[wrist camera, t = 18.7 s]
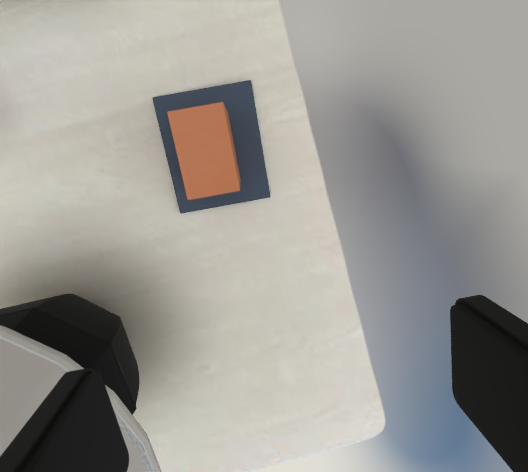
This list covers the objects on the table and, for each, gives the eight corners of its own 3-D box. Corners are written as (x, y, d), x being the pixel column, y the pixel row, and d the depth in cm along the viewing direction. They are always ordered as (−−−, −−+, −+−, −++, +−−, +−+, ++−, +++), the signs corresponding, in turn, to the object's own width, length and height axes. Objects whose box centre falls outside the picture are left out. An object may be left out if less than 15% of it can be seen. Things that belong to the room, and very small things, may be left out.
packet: (185, 119, 35) (166, 111, 26) (227, 111, 35) (223, 101, 26) (200, 187, 37) (187, 200, 28) (240, 179, 37) (240, 191, 28)
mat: (250, 81, 35) (250, 80, 35) (270, 196, 38) (270, 197, 38) (153, 98, 35) (152, 97, 34) (181, 212, 38) (180, 213, 38)
